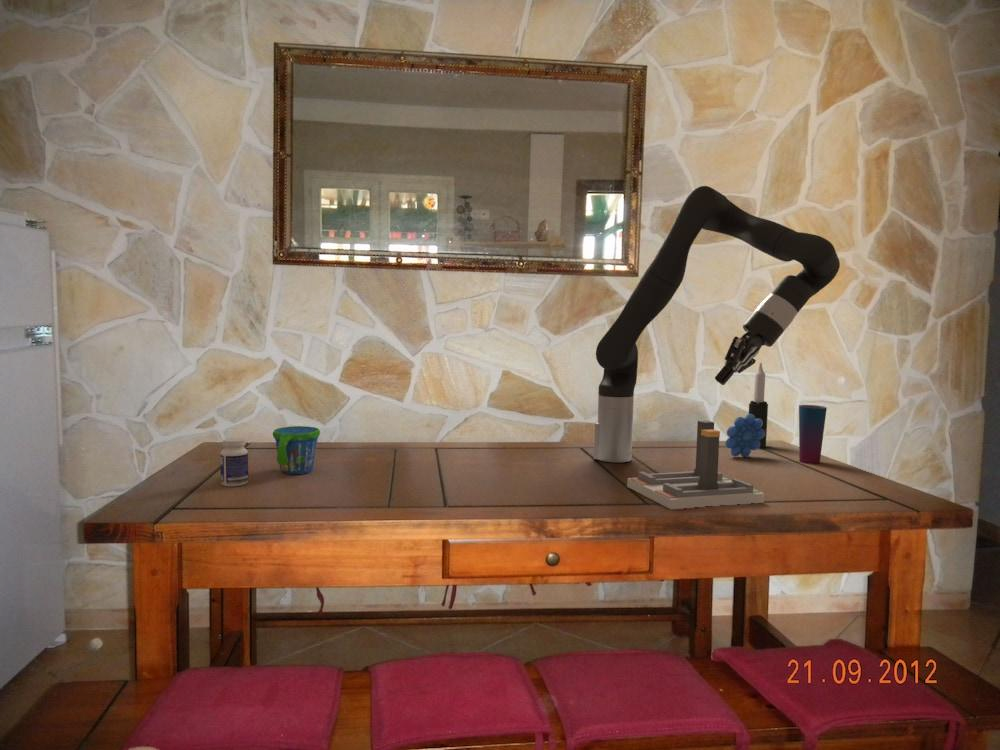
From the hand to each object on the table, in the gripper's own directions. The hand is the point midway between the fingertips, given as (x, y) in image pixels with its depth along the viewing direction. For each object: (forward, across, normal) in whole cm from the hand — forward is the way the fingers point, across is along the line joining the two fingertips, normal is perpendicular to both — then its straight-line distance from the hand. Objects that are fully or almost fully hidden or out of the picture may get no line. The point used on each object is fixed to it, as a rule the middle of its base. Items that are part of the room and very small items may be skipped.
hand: (718, 382), depth 158 cm
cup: (-3, +54, -13) cm, 55 cm away
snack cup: (+78, -27, +56) cm, 100 cm away
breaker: (+20, 0, -13) cm, 24 cm away
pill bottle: (+84, -42, +54) cm, 109 cm away
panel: (+23, +5, -10) cm, 25 cm away
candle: (+1, +68, +5) cm, 68 cm away
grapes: (+7, +51, +1) cm, 51 cm away
